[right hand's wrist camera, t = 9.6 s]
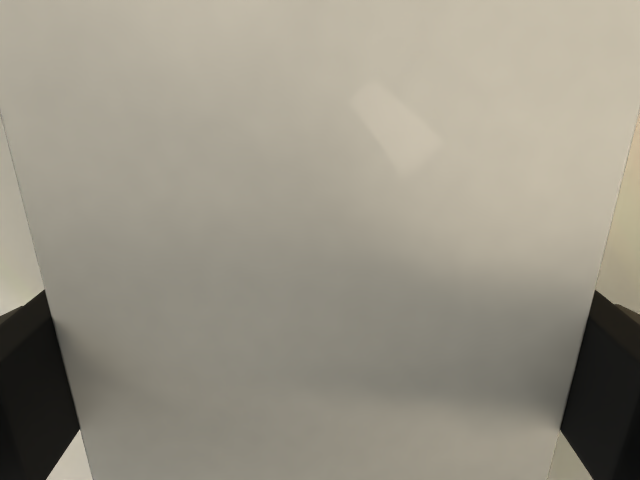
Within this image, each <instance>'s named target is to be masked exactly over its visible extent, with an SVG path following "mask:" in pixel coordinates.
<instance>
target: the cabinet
mask: <svg viewBox="0 0 640 480" xmlns="http://www.w3.org/2000/svg"><path fill="white" fill-rule="evenodd" d="M639 111H640V0H0V114H1V118H2V122H3V126H4V130H5V133H6V137H7V141H8V145H9V149H10V153H11V157H12V161H13V165H14V169H15V173H16V177H17V181H18V185H19V189H20V193H21V197H22V201H23V205H24V209H25V213H26V217H27V221H28V225H29V229H30V233H31V236H32V240H33V244H34V248H35V252H36V256H37V260H38V264H39V268H40V272H41V276H42V280H43V284H44V288H45V292H46V296H47V300H48V304H49V308H50V312H51V316H52V320H53V324H54V328H55V332H56V336H57V340H58V343H59V347H60V351H61V355H62V359H63V363H64V367H65V371H66V375H67V379H68V383H69V387H70V391H71V395H72V399H73V403H74V407H75V411H76V415H77V419H78V423H79V427H80V431H81V435H82V439H83V443H84V446H85V450H86V454H87V458H88V462H89V466H90V470H91V474H92V478H93V480H548V476H549V472H550V468H551V464H552V459H553V455H554V451H555V447H556V443H557V439H558V435H559V431H560V427H561V423H562V419H563V415H564V411H565V407H566V403H567V399H568V395H569V391H570V387H571V383H572V379H573V375H574V371H575V367H576V363H577V359H578V355H579V351H580V347H581V343H582V339H583V335H584V331H585V327H586V323H587V319H588V315H589V311H590V307H591V303H592V299H593V295H594V291H595V287H596V283H597V279H598V275H599V271H600V267H601V263H602V259H603V255H604V251H605V247H606V243H607V239H608V235H609V231H610V227H611V223H612V219H613V215H614V211H615V207H616V203H617V199H618V195H619V191H620V187H621V183H622V179H623V175H624V171H625V167H626V163H627V159H628V155H629V151H630V147H631V143H632V139H633V135H634V131H635V127H636V123H637V119H638V115H639Z"/></svg>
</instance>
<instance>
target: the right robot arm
mask: <svg viewBox="0 0 640 480" xmlns="http://www.w3.org/2000/svg"><path fill="white" fill-rule="evenodd" d="M79 429H80V427H79V423H78V419H77V415H76V411H75V407H74V403H73V399H72V395H71V391H70V387H69V383H68V379H67V375H66V371H65V367H64V363H63V359H62V355H61V351H60V347H59V343H58V340H57V336H56V332H55V328H54V324H53V320H52V316H51V312H50V308H49V304H48V300H47V296H46V292H45V289H44V290H43V291H42V292H41V293H39V294H38V295H37V296H36V297H34V298H33V299H32V300H31V301H29V302H28V303H27V304H26V305H24V306H20V307H18V308H16V309H14V310H12V311H10V312H8V313H6V314H4V315H2V316H0V480H46V479H47V477H48V476H49V474H50V473H51V471H52V470H53V468H54V467H55V465H56V464H57V462H58V461H59V459H60V458H61V456H62V455H63V453H64V452H65V450H66V449H67V447H68V446H69V444H70V443H71V441H72V440H73V438H74V437H75V435H76V434H77V432H78V431H79ZM560 430H561V432H562V433H563V435H564V436H565V438H566V439H567V441H568V442H569V444H570V445H571V447H572V448H573V450H574V451H575V453H576V454H577V456H578V457H579V459H580V460H581V461H582V463H583V464H584V466H585V467H586V469H587V470H588V472H589V473H590V475H591V476H592V478H593V479H594V480H640V315H639V314H637V313H635V312H633V311H631V310H629V309H627V308H625V307H623V306H621V305H619V304H613V303H611V302H610V301H609V300H608V299H606V298H605V297H604V296H603V295H601V294H600V293H599V292H598V291H596V290H595V291H594V295H593V299H592V303H591V307H590V311H589V315H588V319H587V323H586V327H585V331H584V335H583V339H582V343H581V347H580V351H579V355H578V359H577V363H576V367H575V371H574V375H573V379H572V383H571V387H570V391H569V395H568V399H567V403H566V407H565V411H564V415H563V419H562V423H561V427H560Z"/></svg>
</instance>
